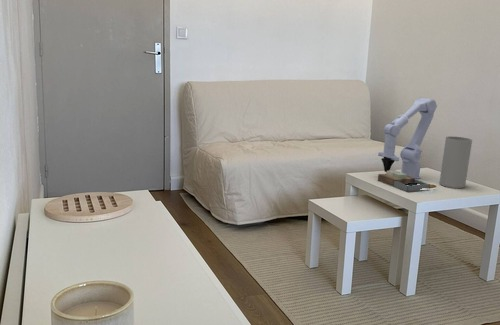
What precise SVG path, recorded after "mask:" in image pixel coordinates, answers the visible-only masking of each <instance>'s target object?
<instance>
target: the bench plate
mask: <svg viewBox="0 0 500 325" xmlns="http://www.w3.org/2000/svg"><path fill="white" fill-rule="evenodd" d="M377 175H378V177H377V181H378V182H380V183H383V184H386V185H387V186H391V187H393V188H395V187H394V181H397V182H399V183H402V184H408V183H414V182H415V178H413V177H410V176H407V178H402V179H398V178H396V177H393V176H390V175H387V173H378V174H377Z"/></svg>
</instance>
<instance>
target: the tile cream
mask: <svg viewBox="0 0 500 325" xmlns="http://www.w3.org/2000/svg"><path fill="white" fill-rule="evenodd" d="M399 172H400V171H398V170H395V169H392V170H391V169H390V170H388V171H387V172H386V174H387V175H390V176H393V174H394V173H399Z"/></svg>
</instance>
